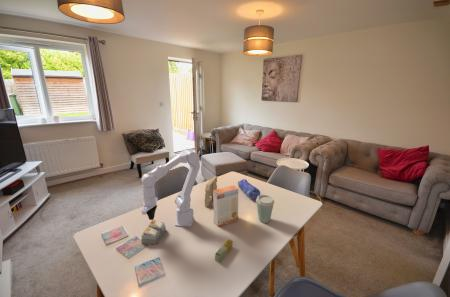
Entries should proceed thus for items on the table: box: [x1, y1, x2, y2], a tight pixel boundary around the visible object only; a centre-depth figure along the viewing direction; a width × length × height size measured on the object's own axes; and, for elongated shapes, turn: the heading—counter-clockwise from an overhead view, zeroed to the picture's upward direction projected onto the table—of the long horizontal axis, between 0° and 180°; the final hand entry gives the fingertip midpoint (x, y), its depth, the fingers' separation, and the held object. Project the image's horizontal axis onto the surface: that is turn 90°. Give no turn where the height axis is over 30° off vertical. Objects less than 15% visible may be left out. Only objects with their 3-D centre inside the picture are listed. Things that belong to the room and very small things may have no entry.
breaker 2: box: [143, 225, 158, 235], centre depth 104 cm, size 6×3×2 cm, turn 84°
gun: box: [204, 175, 218, 208], centre depth 146 cm, size 24×3×15 cm, turn 168°
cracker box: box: [212, 185, 239, 227], centre depth 119 cm, size 14×6×21 cm, turn 119°
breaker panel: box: [140, 221, 166, 245], centre depth 107 cm, size 8×12×5 cm, turn 174°
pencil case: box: [237, 178, 261, 201], centre depth 154 cm, size 22×9×10 cm, turn 22°
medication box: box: [214, 238, 234, 263], centre depth 96 cm, size 12×3×4 cm, turn 149°
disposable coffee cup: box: [255, 193, 275, 224], centre depth 120 cm, size 11×11×15 cm
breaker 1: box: [148, 219, 162, 228], centre depth 110 cm, size 6×3×2 cm, turn 84°
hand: (151, 219), depth 109 cm, fingers closed
